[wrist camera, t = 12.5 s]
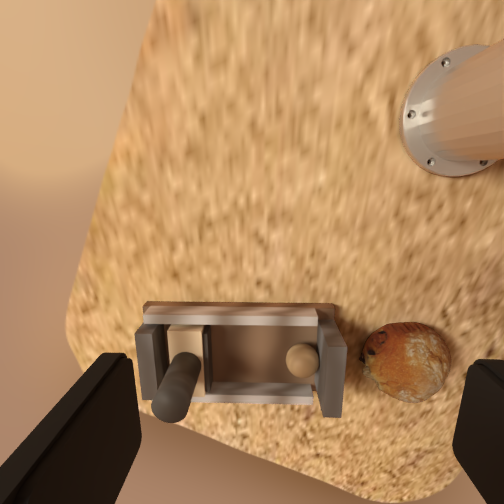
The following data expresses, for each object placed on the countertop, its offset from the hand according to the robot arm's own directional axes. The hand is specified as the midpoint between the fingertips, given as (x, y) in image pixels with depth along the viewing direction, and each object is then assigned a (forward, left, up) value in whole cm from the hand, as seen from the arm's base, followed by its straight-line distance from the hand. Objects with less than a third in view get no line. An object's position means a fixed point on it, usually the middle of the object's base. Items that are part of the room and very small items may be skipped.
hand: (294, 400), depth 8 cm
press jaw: (+10, +16, -26) cm, 32 cm away
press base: (+4, +16, -28) cm, 33 cm away
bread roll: (-17, +17, -29) cm, 37 cm away
